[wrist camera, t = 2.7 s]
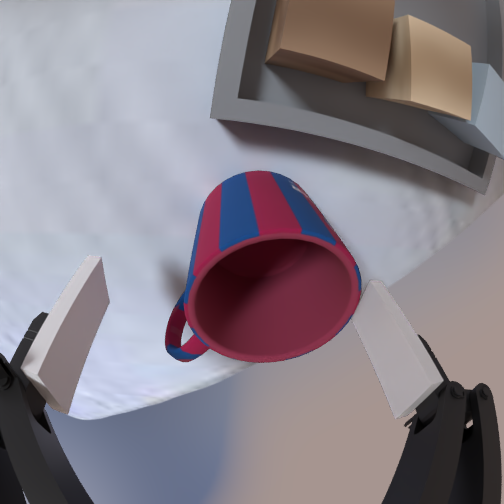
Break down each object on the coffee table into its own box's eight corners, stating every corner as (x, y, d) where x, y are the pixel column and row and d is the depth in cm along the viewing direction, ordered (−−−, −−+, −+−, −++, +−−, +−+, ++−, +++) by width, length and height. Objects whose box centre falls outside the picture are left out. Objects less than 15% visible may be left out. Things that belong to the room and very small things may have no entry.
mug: (331, 238, 16) (379, 315, 11) (203, 312, 19) (199, 397, 13) (276, 146, 13) (317, 186, 7) (135, 246, 15) (97, 328, 10)
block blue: (442, 61, 10) (489, 64, 6) (477, 95, 11) (520, 105, 7) (427, 113, 12) (474, 125, 8) (463, 142, 12) (506, 160, 9)
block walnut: (277, -4, 8) (296, -37, 5) (353, 18, 9) (395, 0, 5) (264, 63, 10) (280, 47, 7) (343, 82, 11) (384, 81, 7)
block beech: (364, 29, 9) (408, 14, 6) (423, 48, 9) (470, 46, 6) (365, 96, 11) (410, 100, 8) (422, 109, 12) (470, 120, 8)
